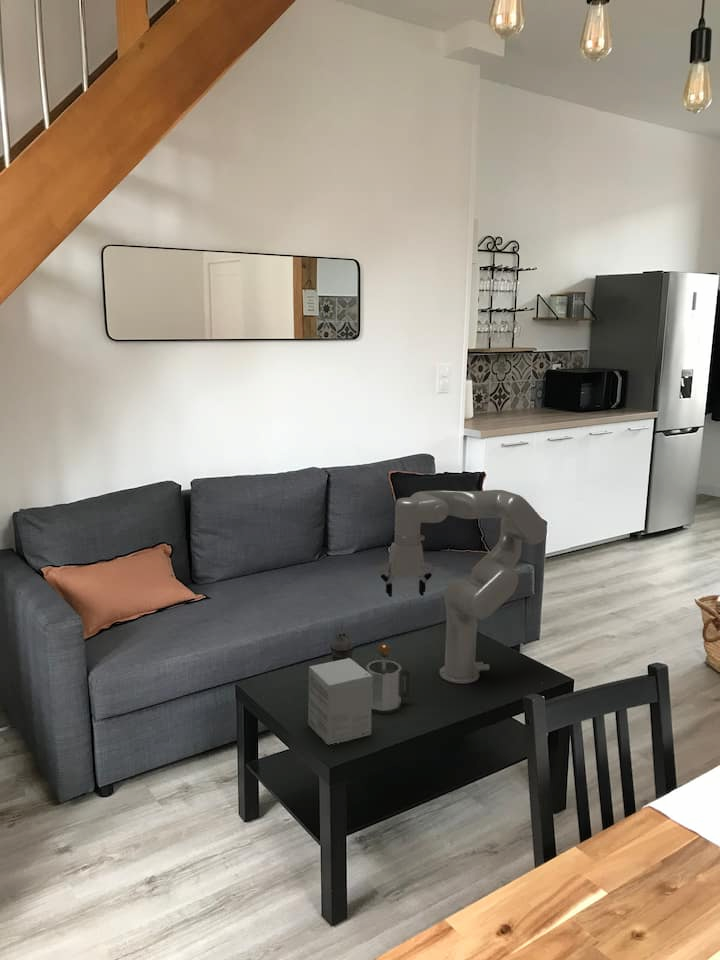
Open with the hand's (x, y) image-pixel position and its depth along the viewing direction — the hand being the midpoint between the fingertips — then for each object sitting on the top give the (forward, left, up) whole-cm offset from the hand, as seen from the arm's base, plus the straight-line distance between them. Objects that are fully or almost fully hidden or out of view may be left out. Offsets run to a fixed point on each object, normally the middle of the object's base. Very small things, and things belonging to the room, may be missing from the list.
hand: (405, 594), depth 233 cm
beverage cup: (+18, -7, -31) cm, 36 cm away
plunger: (+8, +10, -27) cm, 30 cm away
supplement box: (+22, +22, -31) cm, 44 cm away
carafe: (+7, +10, -30) cm, 33 cm away
